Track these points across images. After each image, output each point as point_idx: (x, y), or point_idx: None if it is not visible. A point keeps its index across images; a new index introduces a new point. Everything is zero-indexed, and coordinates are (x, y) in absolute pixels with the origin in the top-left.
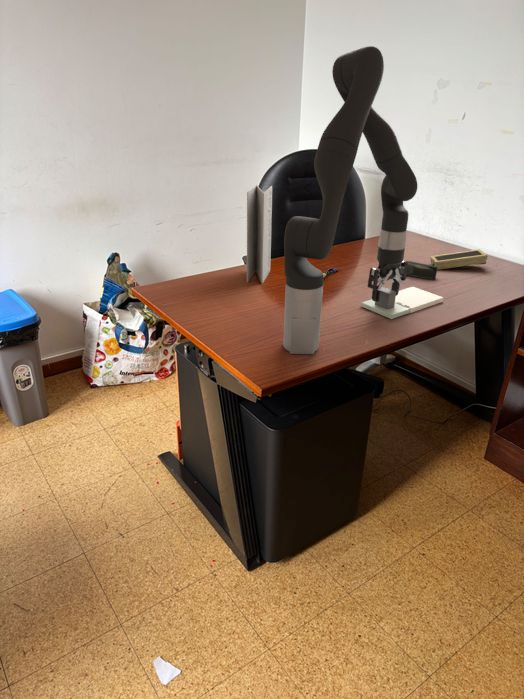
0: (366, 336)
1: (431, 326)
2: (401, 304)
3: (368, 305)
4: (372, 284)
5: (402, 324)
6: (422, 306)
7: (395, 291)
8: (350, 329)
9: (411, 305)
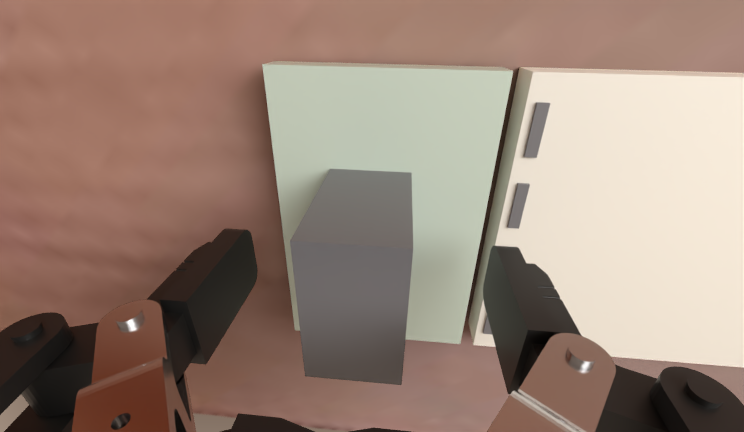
0: None
1: (402, 428)
2: None
3: (273, 149)
4: (33, 394)
5: None
6: None
7: (401, 379)
8: (28, 255)
9: None
